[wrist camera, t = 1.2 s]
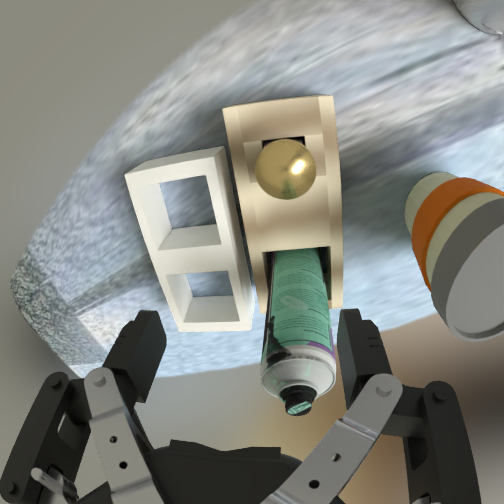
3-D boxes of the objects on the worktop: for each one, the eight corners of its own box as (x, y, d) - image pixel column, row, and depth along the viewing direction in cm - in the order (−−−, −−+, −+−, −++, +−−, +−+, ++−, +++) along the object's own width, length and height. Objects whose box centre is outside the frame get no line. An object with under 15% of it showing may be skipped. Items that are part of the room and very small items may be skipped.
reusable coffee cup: (477, 150, 26) (566, 201, 13) (477, 244, 32) (537, 321, 19) (382, 166, 29) (448, 231, 16) (393, 265, 34) (434, 360, 22)
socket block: (232, 105, 27) (222, 108, 23) (324, 94, 26) (332, 95, 22) (263, 286, 38) (260, 313, 34) (337, 280, 36) (342, 307, 32)
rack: (145, 161, 31) (124, 174, 27) (224, 145, 29) (213, 156, 25) (189, 306, 41) (179, 331, 36) (255, 303, 39) (250, 330, 35)
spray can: (264, 262, 36) (243, 416, 19) (285, 224, 33) (280, 379, 16) (304, 279, 37) (310, 433, 20) (328, 244, 34) (356, 399, 17)
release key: (257, 133, 25) (250, 145, 21) (307, 128, 25) (313, 138, 20) (264, 180, 27) (259, 202, 23) (312, 176, 27) (318, 196, 22)
